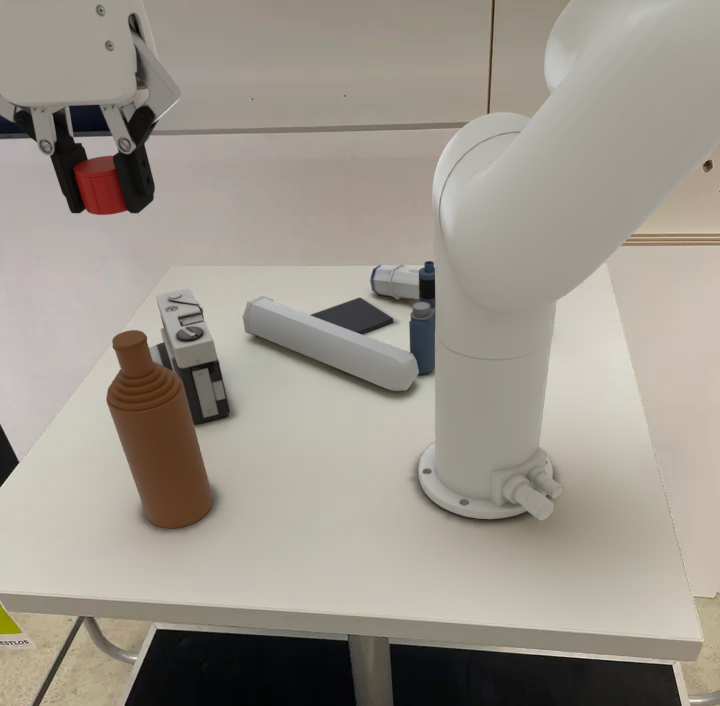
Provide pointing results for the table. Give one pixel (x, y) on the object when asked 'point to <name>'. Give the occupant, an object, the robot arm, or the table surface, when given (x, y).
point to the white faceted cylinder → (395, 281)
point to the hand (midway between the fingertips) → (112, 204)
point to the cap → (99, 186)
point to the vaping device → (424, 321)
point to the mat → (355, 316)
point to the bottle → (157, 435)
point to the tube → (331, 344)
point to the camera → (191, 355)
